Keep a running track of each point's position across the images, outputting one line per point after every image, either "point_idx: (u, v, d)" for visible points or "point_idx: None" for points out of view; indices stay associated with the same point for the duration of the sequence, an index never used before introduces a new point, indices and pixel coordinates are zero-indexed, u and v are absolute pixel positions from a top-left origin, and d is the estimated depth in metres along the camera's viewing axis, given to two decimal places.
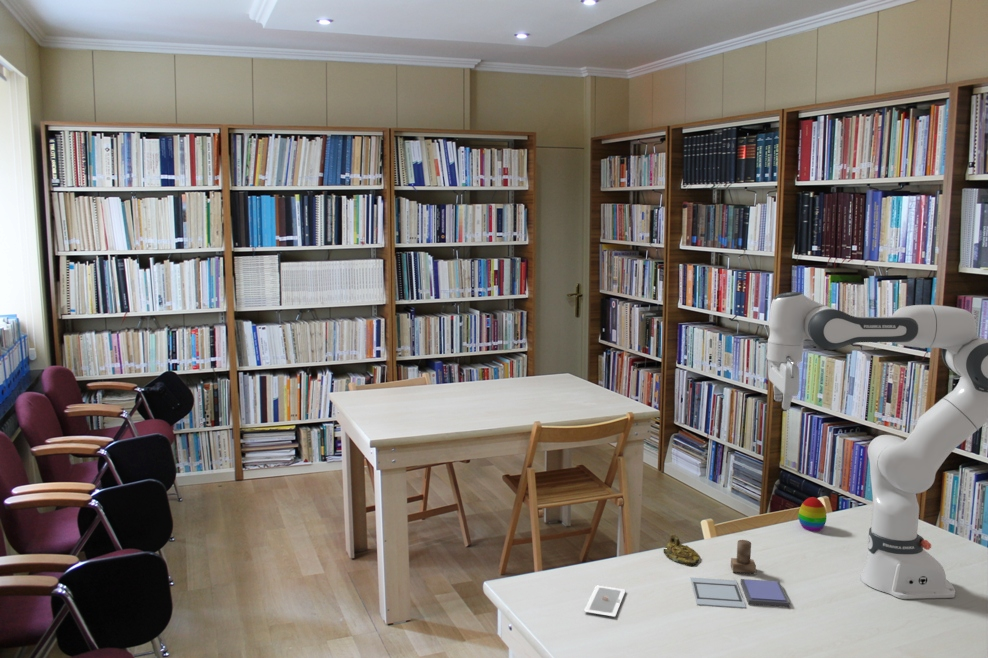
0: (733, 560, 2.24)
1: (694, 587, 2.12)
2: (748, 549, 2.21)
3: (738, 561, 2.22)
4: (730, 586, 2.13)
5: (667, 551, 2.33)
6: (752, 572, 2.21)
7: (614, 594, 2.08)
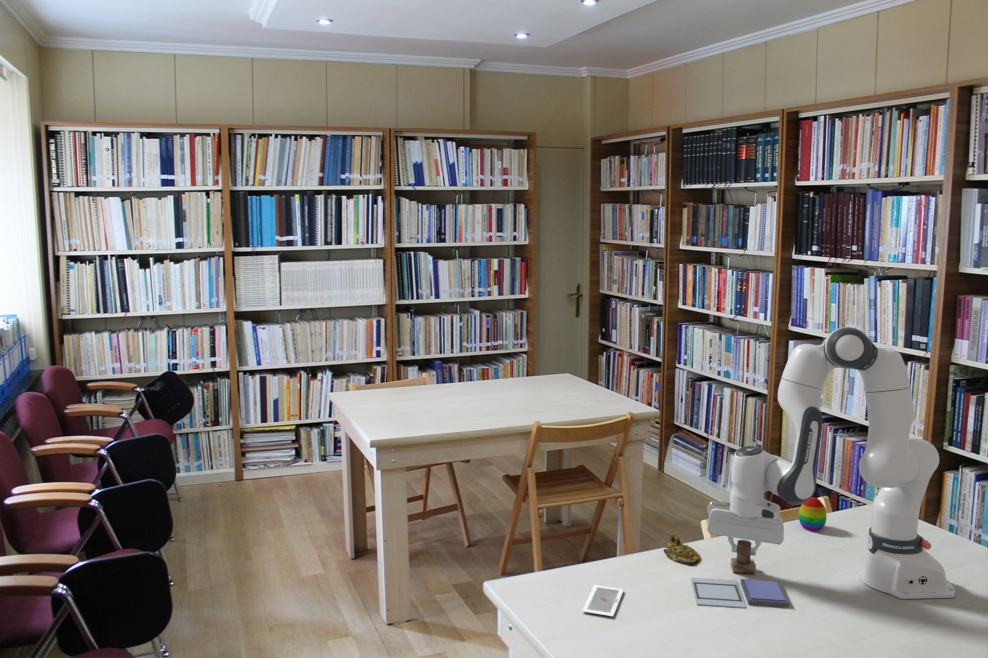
0: (733, 560, 2.24)
1: (694, 587, 2.12)
2: (748, 549, 2.21)
3: (738, 561, 2.22)
4: (730, 586, 2.13)
5: (667, 550, 2.34)
6: (752, 572, 2.21)
7: (612, 593, 2.08)
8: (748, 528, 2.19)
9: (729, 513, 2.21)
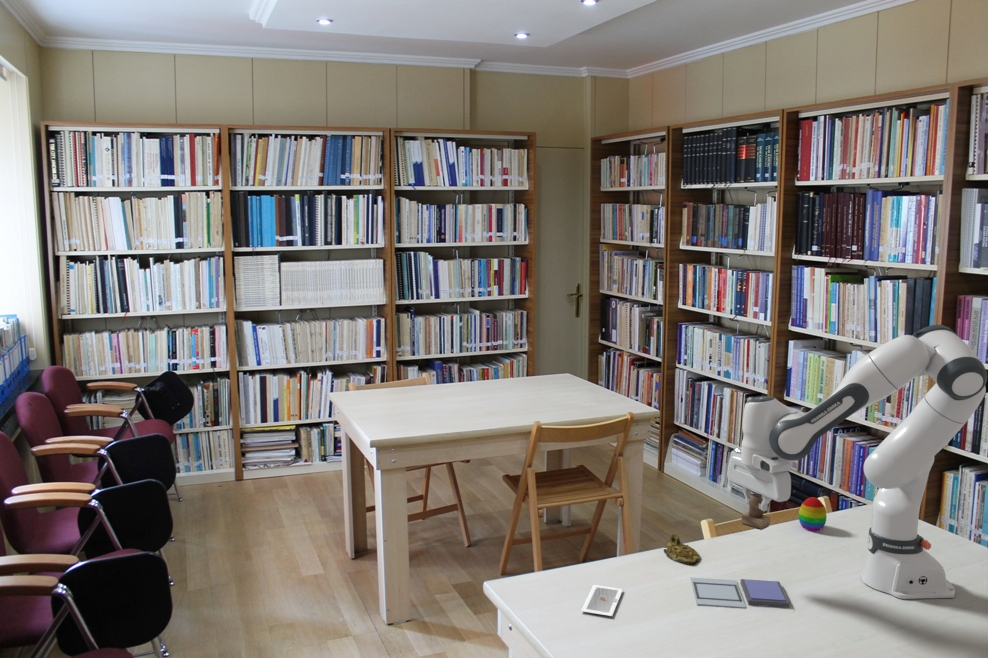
0: (748, 512, 2.17)
1: (694, 587, 2.12)
2: (756, 502, 2.12)
3: (748, 513, 2.15)
4: (730, 586, 2.13)
5: (667, 550, 2.34)
6: (759, 527, 2.12)
7: (611, 593, 2.08)
8: (755, 480, 2.11)
9: (742, 462, 2.16)
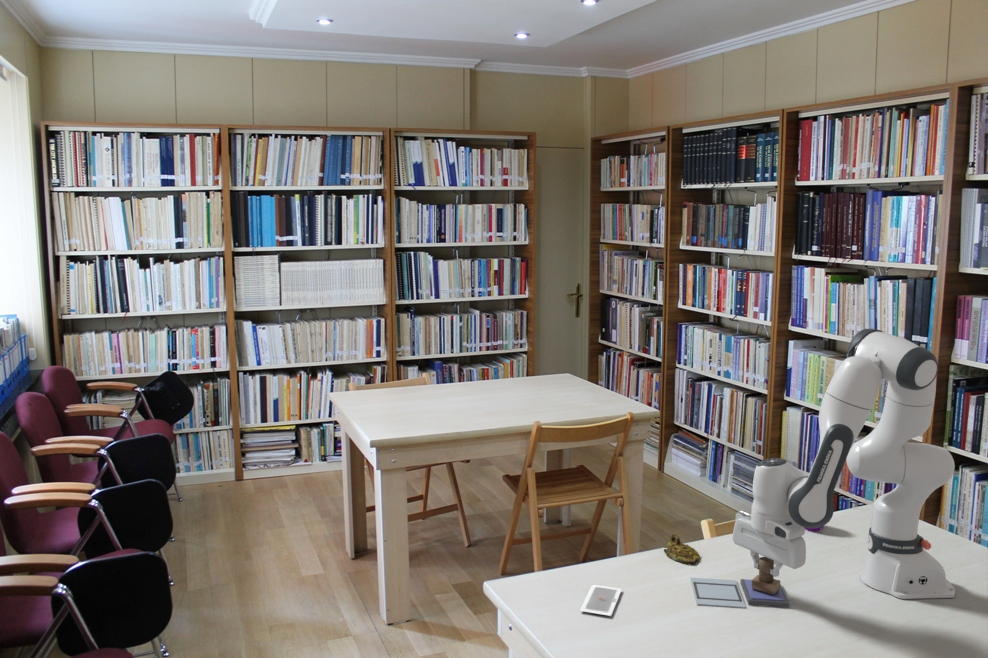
0: (756, 577, 2.10)
1: (694, 587, 2.12)
2: (767, 567, 2.06)
3: (759, 578, 2.08)
4: (730, 586, 2.13)
5: (667, 550, 2.34)
6: (771, 593, 2.05)
7: (610, 593, 2.08)
8: (767, 545, 2.05)
9: (750, 525, 2.09)
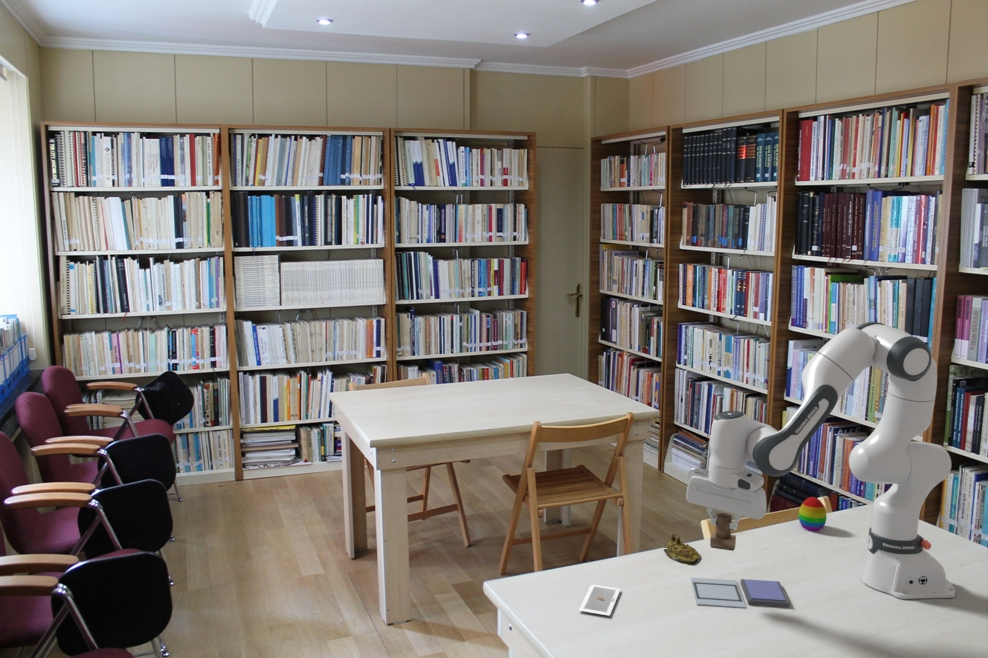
0: (713, 534, 2.07)
1: (694, 587, 2.12)
2: (727, 523, 2.03)
3: (717, 535, 2.05)
4: (730, 586, 2.13)
5: (667, 550, 2.34)
6: (731, 548, 2.03)
7: (609, 593, 2.08)
8: (726, 499, 2.02)
9: (707, 482, 2.05)
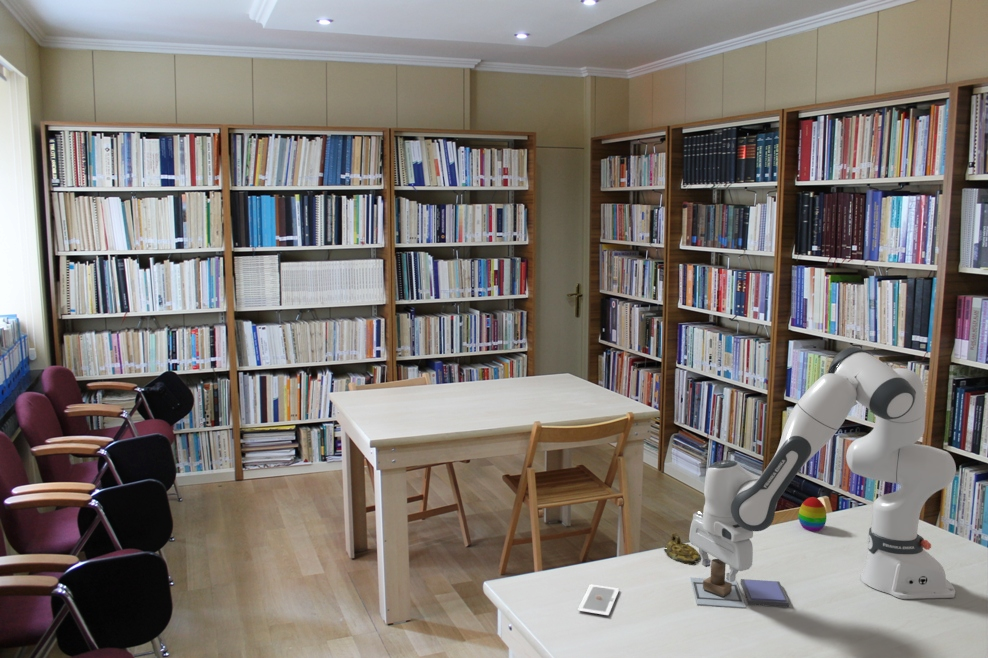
0: (709, 578, 2.12)
1: (694, 587, 2.12)
2: (718, 569, 2.07)
3: (710, 580, 2.10)
4: None
5: (667, 549, 2.35)
6: (720, 595, 2.07)
7: (608, 593, 2.08)
8: (717, 546, 2.06)
9: None
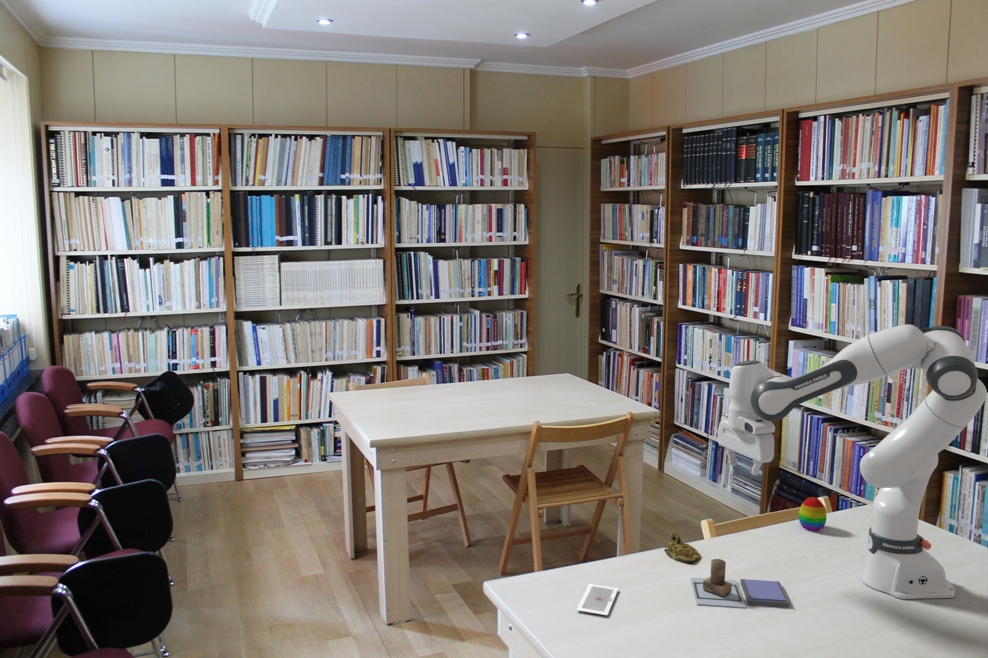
0: (709, 578, 2.12)
1: (694, 587, 2.12)
2: (718, 569, 2.07)
3: (710, 580, 2.10)
4: None
5: (667, 549, 2.35)
6: (720, 595, 2.07)
7: (607, 592, 2.09)
8: (741, 442, 2.16)
9: (730, 425, 2.21)
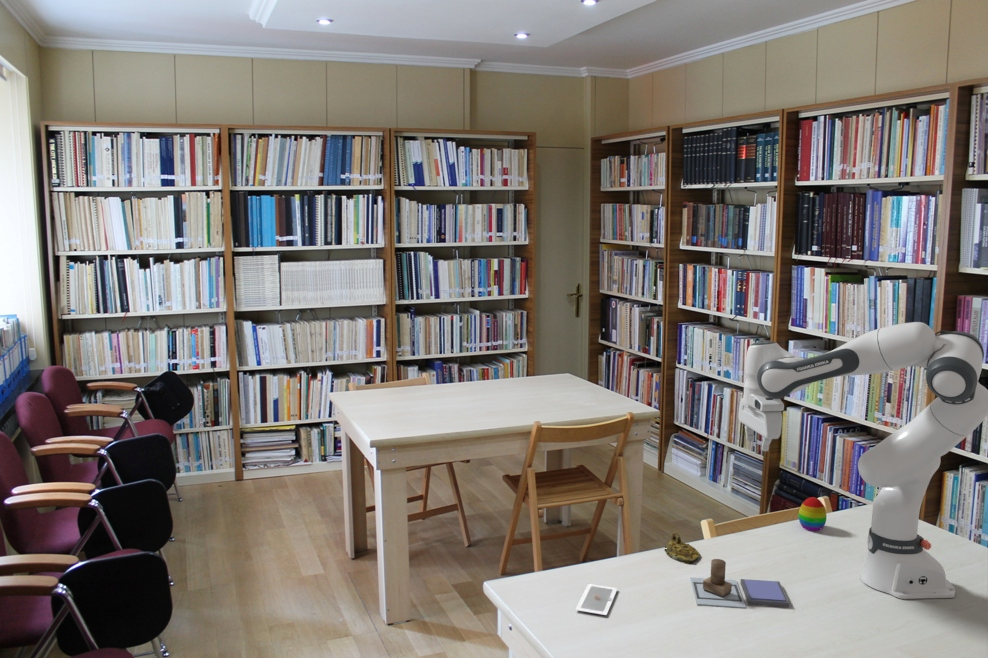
0: (709, 578, 2.12)
1: (694, 587, 2.12)
2: (718, 569, 2.07)
3: (710, 580, 2.10)
4: None
5: (667, 549, 2.35)
6: (720, 595, 2.07)
7: (606, 592, 2.09)
8: (754, 419, 2.25)
9: None
